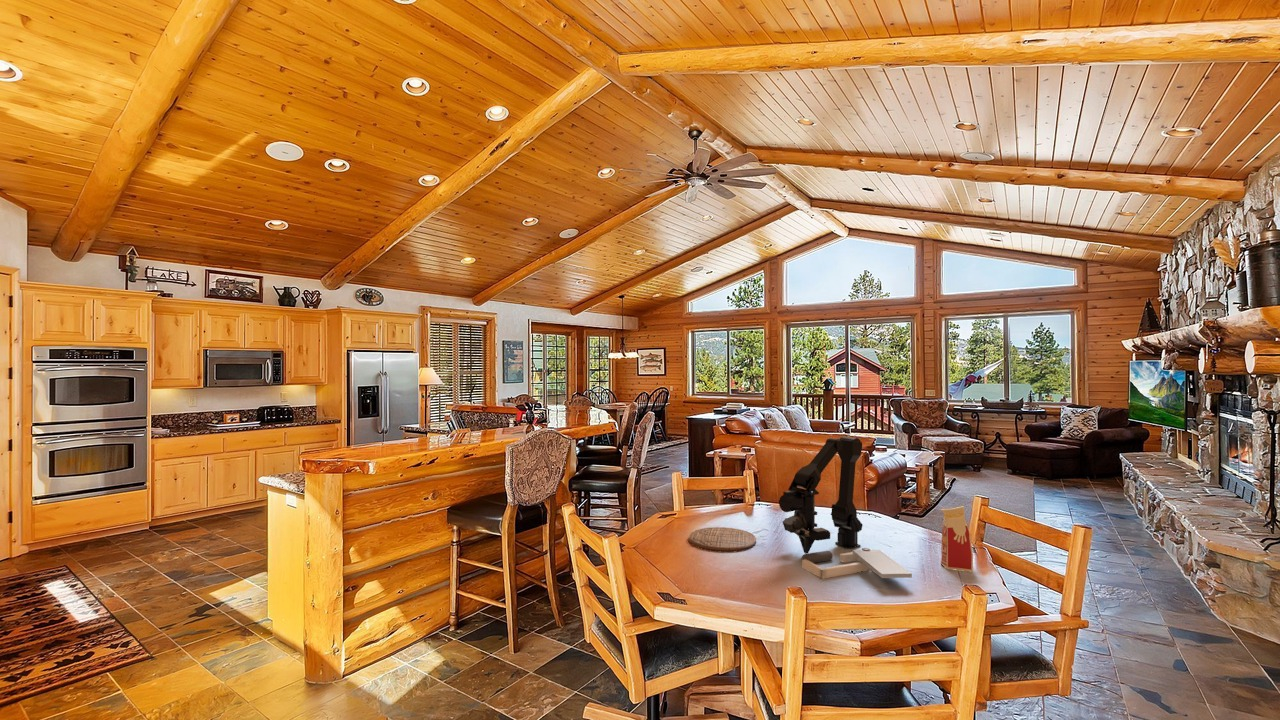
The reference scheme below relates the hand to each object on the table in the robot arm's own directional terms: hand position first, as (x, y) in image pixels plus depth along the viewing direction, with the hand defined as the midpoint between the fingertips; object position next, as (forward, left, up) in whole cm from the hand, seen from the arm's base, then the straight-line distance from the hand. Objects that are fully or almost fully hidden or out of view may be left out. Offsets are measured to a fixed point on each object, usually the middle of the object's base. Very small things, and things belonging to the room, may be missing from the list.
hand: (806, 553), depth 199 cm
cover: (-10, +23, +2) cm, 26 cm away
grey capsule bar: (0, +6, -1) cm, 6 cm away
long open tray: (-3, +14, -1) cm, 14 cm away
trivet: (+18, -26, -2) cm, 32 cm away
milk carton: (-40, +26, -1) cm, 48 cm away
